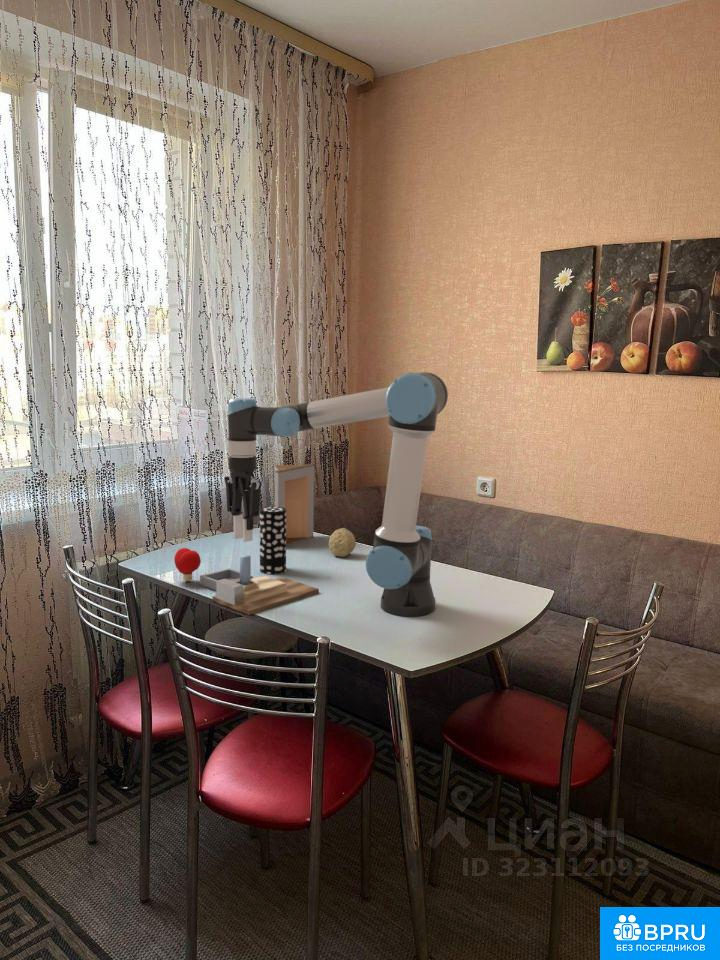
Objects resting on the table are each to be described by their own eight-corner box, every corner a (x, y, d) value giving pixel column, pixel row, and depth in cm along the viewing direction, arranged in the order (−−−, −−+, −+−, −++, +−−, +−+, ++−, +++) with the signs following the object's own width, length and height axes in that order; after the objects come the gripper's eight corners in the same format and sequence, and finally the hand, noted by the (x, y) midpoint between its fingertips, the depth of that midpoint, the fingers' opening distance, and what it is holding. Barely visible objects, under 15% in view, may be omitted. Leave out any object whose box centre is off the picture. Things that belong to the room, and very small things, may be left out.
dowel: (252, 587, 204) (252, 556, 203) (244, 589, 202) (244, 558, 200) (245, 585, 206) (246, 554, 205) (237, 587, 204) (237, 556, 202)
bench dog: (243, 602, 199) (243, 585, 198) (234, 605, 197) (234, 587, 196) (225, 595, 204) (225, 578, 204) (216, 598, 202) (216, 580, 201)
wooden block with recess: (286, 591, 209) (286, 578, 208) (247, 602, 199) (247, 588, 198) (263, 583, 216) (263, 570, 215) (225, 594, 206) (225, 580, 205)
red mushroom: (206, 582, 219) (206, 550, 218) (186, 587, 214) (186, 555, 213) (189, 576, 226) (188, 544, 224) (169, 580, 221) (168, 548, 219)
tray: (252, 585, 217) (252, 575, 217) (222, 594, 209) (222, 584, 209) (229, 577, 225) (229, 568, 224) (200, 585, 217) (199, 575, 216)
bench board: (318, 592, 212) (318, 588, 212) (248, 615, 193) (248, 610, 193) (282, 580, 223) (282, 576, 223) (212, 600, 204) (212, 596, 204)
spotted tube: (281, 575, 228) (281, 512, 225) (256, 573, 230) (255, 511, 226) (289, 567, 236) (289, 507, 233) (264, 565, 238) (264, 505, 234)
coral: (362, 533, 255) (353, 527, 246) (355, 561, 253) (345, 557, 244) (337, 528, 258) (327, 522, 249) (330, 556, 256) (320, 551, 247)
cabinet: (278, 548, 259) (278, 471, 254) (257, 544, 264) (257, 468, 259) (313, 537, 276) (313, 464, 271) (293, 533, 281) (293, 461, 276)
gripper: (273, 457, 195) (273, 542, 199) (234, 451, 206) (235, 531, 210) (250, 460, 189) (251, 547, 193) (212, 453, 200) (213, 536, 204)
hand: (243, 539), depth 201 cm, fingers open, 3 cm apart
